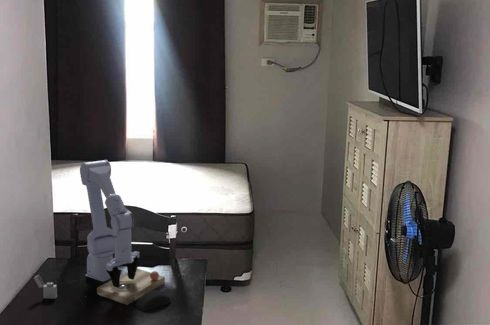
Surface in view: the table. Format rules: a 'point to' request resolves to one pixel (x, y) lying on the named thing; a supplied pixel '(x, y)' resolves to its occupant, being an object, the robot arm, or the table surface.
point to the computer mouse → (152, 300)
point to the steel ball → (123, 287)
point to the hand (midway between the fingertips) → (123, 282)
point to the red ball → (154, 275)
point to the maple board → (130, 287)
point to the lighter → (47, 288)
